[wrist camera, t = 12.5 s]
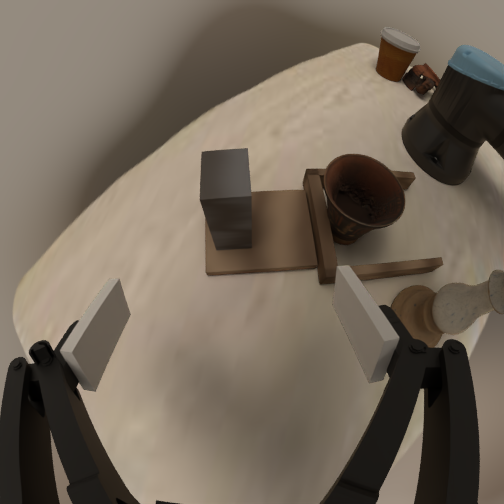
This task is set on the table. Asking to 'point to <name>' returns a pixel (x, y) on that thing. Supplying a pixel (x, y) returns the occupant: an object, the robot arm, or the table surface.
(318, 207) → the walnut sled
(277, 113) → the table surface
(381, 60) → the disposable coffee cup
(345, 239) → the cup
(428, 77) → the dark brown arched piece
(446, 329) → the candle holder
